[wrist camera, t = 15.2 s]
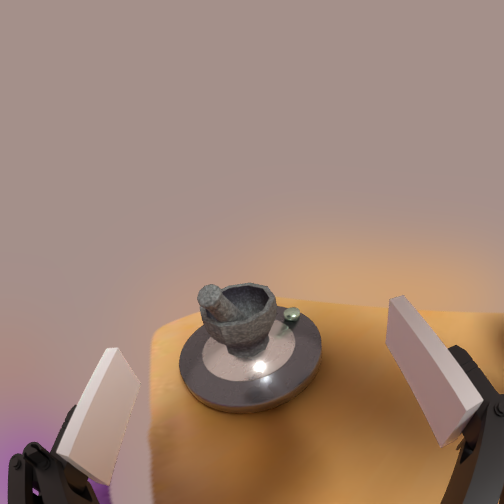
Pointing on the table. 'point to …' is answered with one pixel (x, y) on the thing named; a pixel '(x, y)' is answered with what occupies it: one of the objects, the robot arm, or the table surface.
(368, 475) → the table surface
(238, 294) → the mortar and pestle
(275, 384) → the base
